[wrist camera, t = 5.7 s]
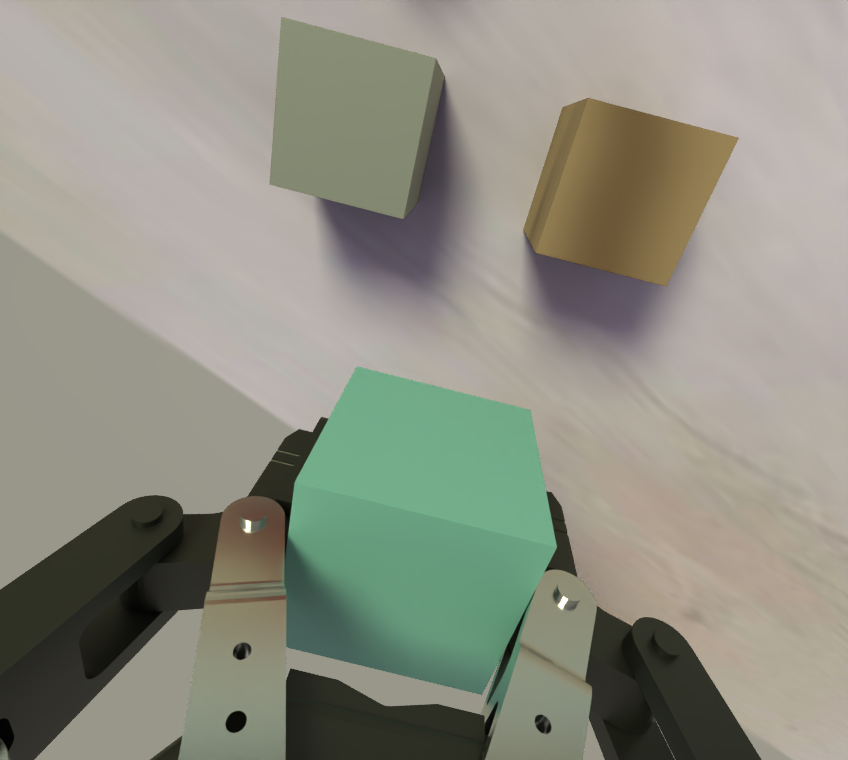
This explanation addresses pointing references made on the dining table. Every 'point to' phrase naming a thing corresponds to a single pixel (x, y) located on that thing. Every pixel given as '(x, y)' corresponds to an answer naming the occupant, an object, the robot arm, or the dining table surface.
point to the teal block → (416, 532)
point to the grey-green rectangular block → (352, 119)
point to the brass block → (624, 189)
